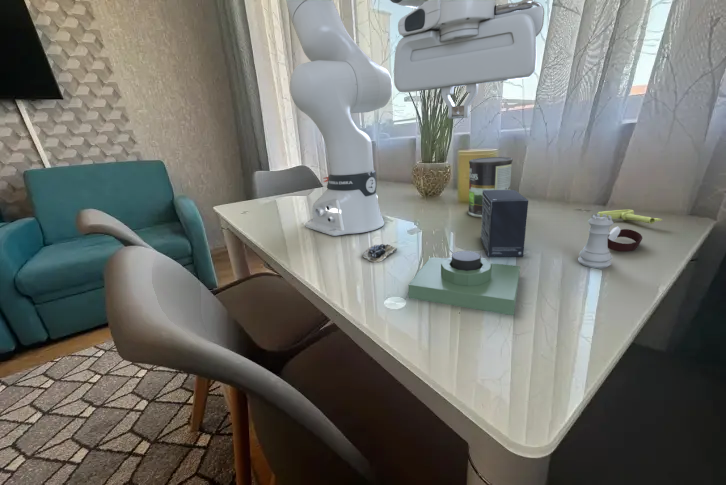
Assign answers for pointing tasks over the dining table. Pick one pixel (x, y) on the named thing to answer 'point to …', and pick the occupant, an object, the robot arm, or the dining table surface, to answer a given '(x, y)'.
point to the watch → (623, 233)
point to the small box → (503, 223)
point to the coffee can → (487, 179)
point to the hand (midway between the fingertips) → (458, 118)
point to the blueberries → (378, 252)
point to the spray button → (466, 260)
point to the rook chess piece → (597, 243)
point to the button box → (467, 285)
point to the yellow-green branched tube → (628, 216)
